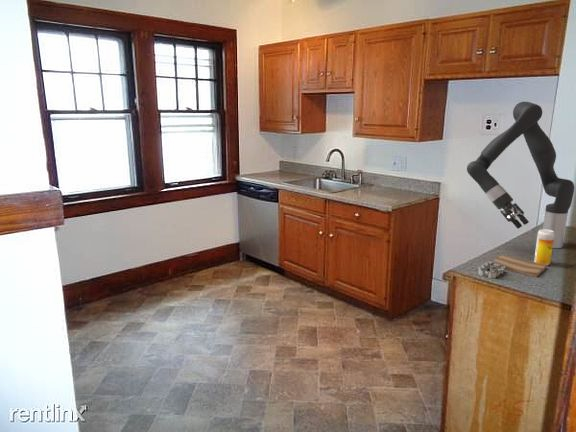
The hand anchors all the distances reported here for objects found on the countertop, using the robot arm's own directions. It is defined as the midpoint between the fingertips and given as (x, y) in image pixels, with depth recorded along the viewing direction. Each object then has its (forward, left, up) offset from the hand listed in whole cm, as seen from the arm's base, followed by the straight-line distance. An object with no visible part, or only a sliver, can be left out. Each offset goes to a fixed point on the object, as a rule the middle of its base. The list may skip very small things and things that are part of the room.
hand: (523, 225), depth 181 cm
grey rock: (+26, -3, -16) cm, 31 cm away
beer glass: (0, +9, -16) cm, 18 cm away
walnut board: (+11, +3, -16) cm, 20 cm away
